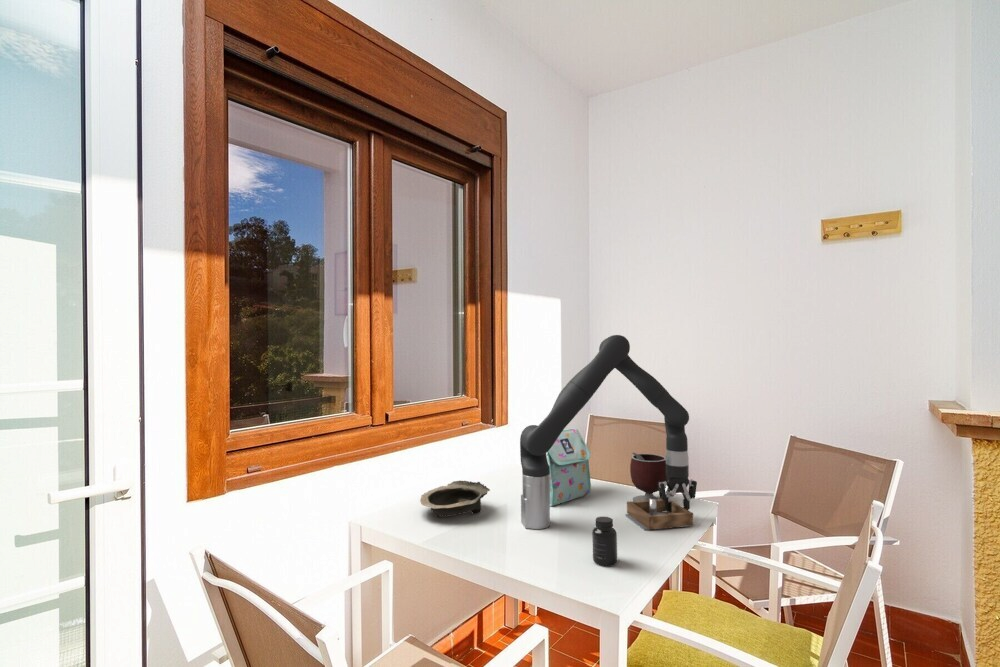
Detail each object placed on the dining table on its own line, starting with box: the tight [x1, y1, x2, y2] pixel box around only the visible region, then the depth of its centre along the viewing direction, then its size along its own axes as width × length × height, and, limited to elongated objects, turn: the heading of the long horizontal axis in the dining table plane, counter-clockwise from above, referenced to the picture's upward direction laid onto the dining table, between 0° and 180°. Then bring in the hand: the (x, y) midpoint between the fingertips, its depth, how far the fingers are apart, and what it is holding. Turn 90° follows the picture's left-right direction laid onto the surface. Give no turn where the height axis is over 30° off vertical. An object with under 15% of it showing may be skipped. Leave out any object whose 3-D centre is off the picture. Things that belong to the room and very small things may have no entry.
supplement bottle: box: [591, 516, 618, 567], centre depth 144 cm, size 7×7×12 cm
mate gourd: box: [629, 452, 666, 501], centre depth 196 cm, size 16×14×20 cm
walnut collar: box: [626, 499, 694, 530], centre depth 176 cm, size 16×16×4 cm
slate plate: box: [625, 511, 666, 531], centre depth 176 cm, size 14×14×1 cm
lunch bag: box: [546, 428, 592, 507], centre depth 202 cm, size 23×16×27 cm
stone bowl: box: [419, 480, 491, 518], centre depth 186 cm, size 25×25×9 cm
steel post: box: [649, 498, 657, 515], centre depth 176 cm, size 2×2×7 cm
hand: (677, 511), depth 178 cm, fingers open, 6 cm apart
